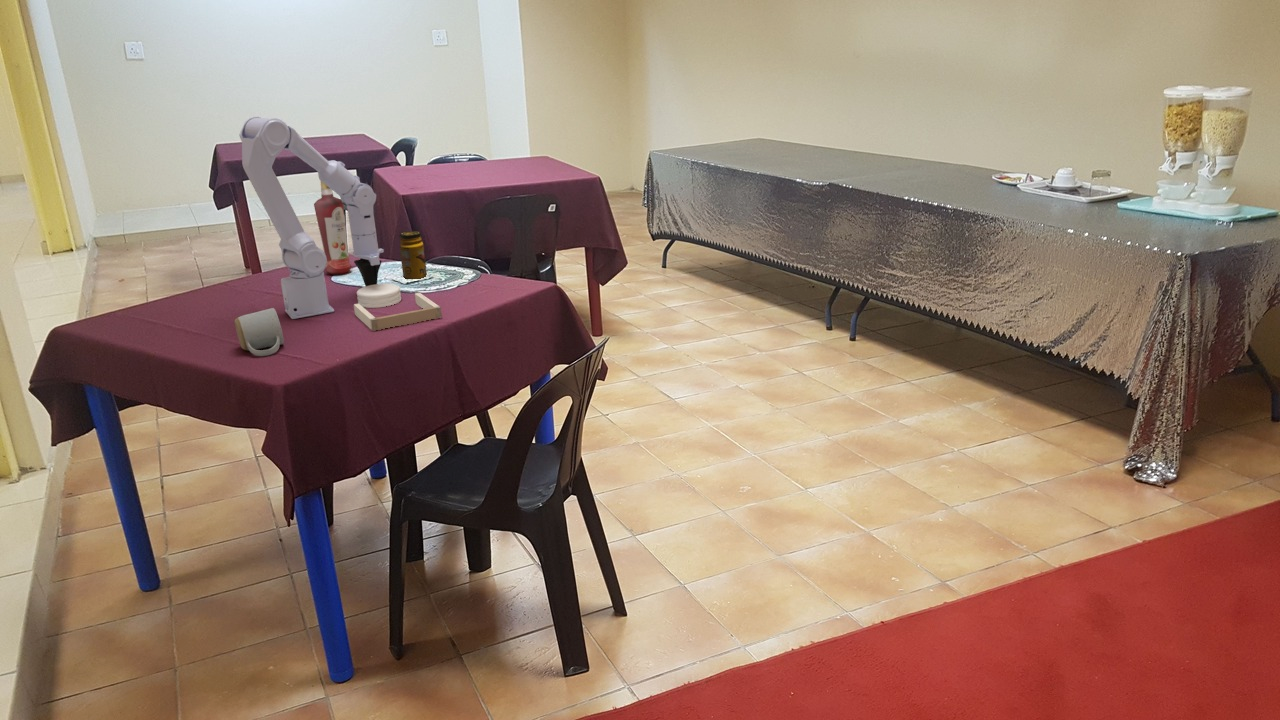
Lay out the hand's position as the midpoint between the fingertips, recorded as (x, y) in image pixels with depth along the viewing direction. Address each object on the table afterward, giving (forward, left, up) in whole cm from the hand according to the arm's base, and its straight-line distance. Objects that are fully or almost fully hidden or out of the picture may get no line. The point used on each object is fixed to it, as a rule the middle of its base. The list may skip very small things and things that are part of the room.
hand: (371, 288), depth 218 cm
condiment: (+13, +10, -2) cm, 16 cm away
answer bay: (0, -20, -2) cm, 20 cm away
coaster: (0, -6, -2) cm, 7 cm away
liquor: (-1, +29, -2) cm, 29 cm away
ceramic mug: (-29, -25, -2) cm, 39 cm away
